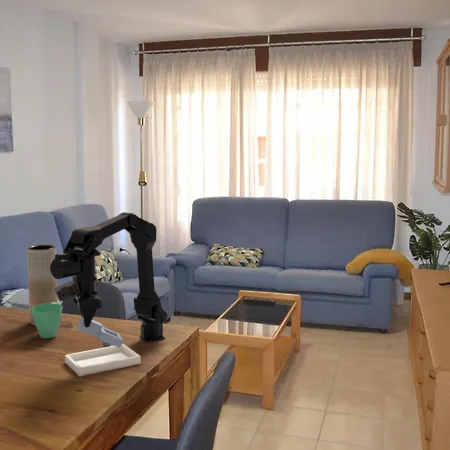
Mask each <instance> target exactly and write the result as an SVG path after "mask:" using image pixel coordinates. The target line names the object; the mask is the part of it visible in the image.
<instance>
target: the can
mask: <svg viewBox="0 0 450 450" xmlns="http://www.w3.org/2000/svg"><path fill="white" fill-rule="evenodd" d="M110 346H111V344H109V343H106V342H104V341H102V348H105V347H110Z"/></svg>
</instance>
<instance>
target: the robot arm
mask: <svg viewBox="0 0 450 450" xmlns="http://www.w3.org/2000/svg"><path fill="white" fill-rule="evenodd" d="M123 230H124V231H126V232H127V233H129V238H130V241H131V243H132V245H133V247H134V248H135V250H136V259H137V260H136V262H137V274H138V275H137V276H138V287H139V292H138V294H137V296H136V297H134V298H133V310H134V311H135V314H136V316H137V319H138V320H139V321H141V324H140V335H139V337H140V338H142V339H143V340H144V341H146V342H148V343H149V342H155V341H160V340H165V339H166V336H164V332H163V331H164V327H163V326H164V323H165V321H167V318H168V313H167V312H166V310H164V308H163V307H162V303H161V299H160V297H159V295H158V294H157V291H156V288H155V273H154V261H153V260H154V259H153V247H154V246H155V244H156V242H157V226H156V225H155V224H154V223H152V222H149V221H147V220H145V219H143V218H141V217H139V216H138V215H137V214H136V213H133V212H126V211H125V212H121V213H119V214H117V215H116V216H114V217H112V218H109V219H107V220H105V221H103V222H100V223H99V224H96V225H93V226H83V227H80V228H76V229H74V230H73V231H72V232H71V235H70V237H69V239H68V242H67V243H66V245H65V247H64V249H63V251H62V253H56V254H55V259H54V260H53V261H52V263H51V265H50V271H51V274H52V275H53V277H54V278H56V279H57V280H63V279H67V278H70V277H71V278H72V280H71V281H69V282H66V283H62V284H61V285H57V287H56V288H55V289H54V290H55V292H56V295H57V297H58V302H63V301H65V300H67V299H69V298H71V297H75V298H72V301H73V302H74V303H75V304H76V305H75V306H76V308H77V309H78V310H79V312H80V315H81V318H82V316H83V319H84V324H85V327H89V326H90V324H91V321H92V320H93V319H94V317H95V314H96V312H97V310H98V309H102V308H103V301H102V300H101V298H100V297H99V296H98V290H97V289H96V281H97V276H96V257H99V256H101V252H100V251H98V250H97V248H98V247H100V246H101V245H102V244H103V242H104V240H105V239H107V238H109V237H111V236H113V235H115V234H118V233H119V232H121V231H123ZM97 282H98V281H97Z"/></svg>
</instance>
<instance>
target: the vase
mask: <svg viewBox="0 0 450 450" xmlns="http://www.w3.org/2000/svg"><path fill="white" fill-rule="evenodd" d="M26 252H27V253H26V254H27V255H26V256H27V276H28V277H27V278H28V279H27V280H28V283H27V284H28V304H29V307H28V309H29V310H28V311H29V323H30V325H31V326H35V327H36V325H35V322H34V318H33V314H32V307H34V306H36V305H40V304H50V303H52V302H56V303H57V304H59V299H58V297H57V295H56V292H55V290H54V289H55V288H56V287H58V279H56V278H54V277H53V275H52V274H51V271H50V265H51V263H52V261H53V260H54V259H55V254H57V246H56V245H52V244H38V245H37V244H36V245H30V246H28V247H27V248H26Z"/></svg>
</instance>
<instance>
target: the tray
mask: <svg viewBox="0 0 450 450" xmlns="http://www.w3.org/2000/svg"><path fill="white" fill-rule="evenodd" d="M141 358H142V357H141V355H140V354H139V353H138V352H135V351H134V350H133V349H132V348H130V347H129V346H127V345H126V344H125V343H122V345H121V347H120V348H119V347H116V346H114V345H110V347H105V348H103V347H100V348H95V349H90V350H85V351H78V352H73V353H69V354H65V355H64V363H65V364H66V365H67V366H68V368H70V369H71V370H72V371H73V372H74V373H75V374H76V375H77V376H78V377H84V376H88V375H94V374H99V373H103V372H108V371H113V370H117V369H122V368H123V369H124V368H126V367H133V366H137V365H140V364H141V363H142V362H141V361H142V360H141ZM141 365H142V364H141Z"/></svg>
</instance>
